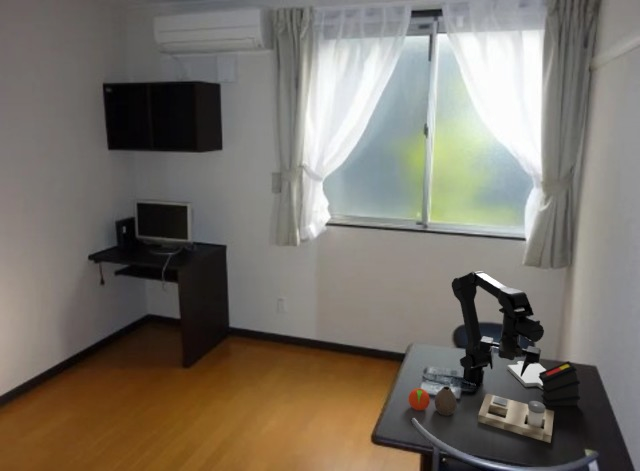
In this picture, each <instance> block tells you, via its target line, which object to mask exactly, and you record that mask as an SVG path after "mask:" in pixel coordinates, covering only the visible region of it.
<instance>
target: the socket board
mask: <svg viewBox="0 0 640 471" xmlns="http://www.w3.org/2000/svg"><path fill="white" fill-rule="evenodd" d="M489 412H492V413H494V414H492V413H489ZM528 413H529V409H528V403H525V402H524V403H523V402H520V401H516V400H512V399H509V398H506V397H501V396H497V395H495V394H489V393H485V396H484V399H483V402H482V404H481V406H480V410H479V412H478V416H477V417H478V418H477V422H478V423H482V424H485V425H489V426H491V427H494V428H498V429H502V430H505V431H508V432H512V433H515V434H518V435H520V436H521V435H522V436H525V437H529V438H532V439H535V440H538V441H543V442H545V443H549V444H551V441H552V434H553V425H554V424H553V423H554V417H555V416H554V415H555V411H554V410H550V409H547V408H545V412H544V413H543V417H542V425H541V428H537V427H534V426H530V425H527V423H526V422H527V421H528ZM495 414H499V415H502V416H505V417H502V416H498V415H495ZM525 423H526V424H525ZM542 427H543V428H542Z"/></svg>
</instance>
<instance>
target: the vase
mask: <svg viewBox="0 0 640 471" xmlns="http://www.w3.org/2000/svg"><path fill="white" fill-rule="evenodd" d="M434 406H435V409H436V411H437V412H438V413H439V414H440V415H443V416H450V415H452V414H454V412H455V411H456V408H457V398H456V394H455V393H454V392H453V391H452V388H451V386H447V385H444V386H443V387H442V388H441V389H439V391H438V392H437V393H436V395H435V398H434Z"/></svg>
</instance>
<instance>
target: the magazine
mask: <svg viewBox="0 0 640 471" xmlns="http://www.w3.org/2000/svg"><path fill="white" fill-rule="evenodd" d="M576 372H577V368H576V366H574V364H573V363H572V362H570V361H569V360H567V361H565V362H562V363H560V364H557V365H556V366H554V367H550V368H549V369H546V371H543V372H541V373H539V375H540V376H539V378H540V380H541V381H542V383H543V385H542V386H541V387H542V388H543V389H542V390H543V391H542V392H543V393H542V394H541V395H540V396H541V398H542V403H544V405H545V406H548V407H549V406H553V407H554V406H558V407H559V406H578V402H579V400H580V399H581V396H580V395H579V385H580V384H581V383H580V380H579V379H578V375H577V373H576Z"/></svg>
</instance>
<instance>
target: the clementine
mask: <svg viewBox="0 0 640 471" xmlns="http://www.w3.org/2000/svg"><path fill="white" fill-rule="evenodd" d="M430 402H431V400H430V395H429V393H428V392H427V391H426V390H425V389H423V388H421V387H419V388H413V389H412V390H411V391H410V392H409V395H408V403H409V405H410V406H411V408H412V409H414V410H416V411H424V410H426V409H427V408H428V407H429V405H430Z"/></svg>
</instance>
